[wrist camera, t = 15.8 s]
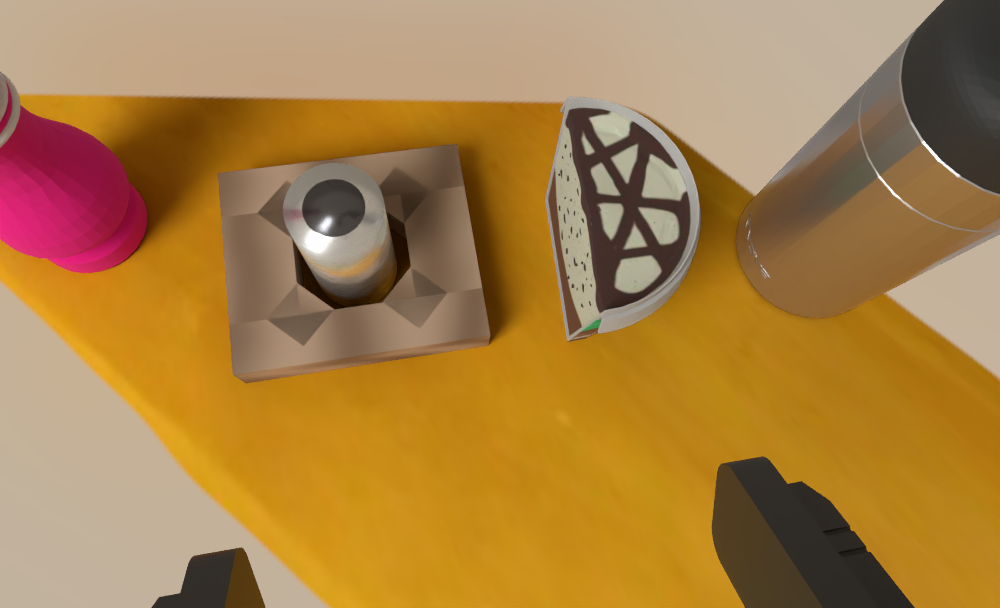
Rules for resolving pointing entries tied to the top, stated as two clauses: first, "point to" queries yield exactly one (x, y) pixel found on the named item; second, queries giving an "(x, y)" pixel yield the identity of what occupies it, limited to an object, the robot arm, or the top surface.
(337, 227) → the bushing
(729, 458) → the top surface
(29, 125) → the pepper mill
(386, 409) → the top surface
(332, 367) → the frame
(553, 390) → the top surface
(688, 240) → the food container
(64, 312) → the top surface
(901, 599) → the robot arm
